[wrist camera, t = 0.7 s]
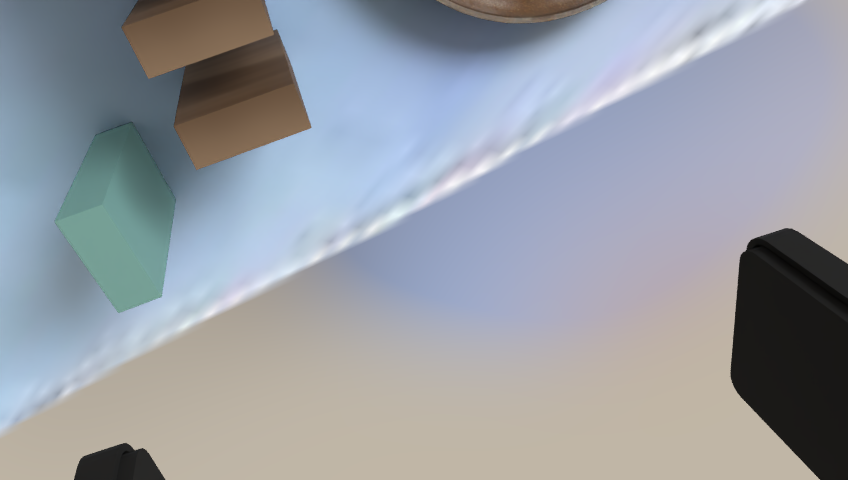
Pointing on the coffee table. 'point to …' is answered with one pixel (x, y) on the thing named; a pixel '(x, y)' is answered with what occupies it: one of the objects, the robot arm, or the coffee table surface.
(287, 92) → the domino
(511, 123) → the coffee table surface
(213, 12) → the domino
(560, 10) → the plant saucer
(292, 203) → the coffee table surface
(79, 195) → the tile
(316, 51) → the coffee table surface
